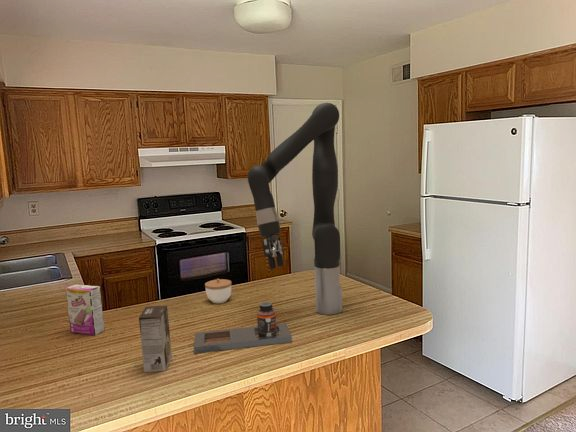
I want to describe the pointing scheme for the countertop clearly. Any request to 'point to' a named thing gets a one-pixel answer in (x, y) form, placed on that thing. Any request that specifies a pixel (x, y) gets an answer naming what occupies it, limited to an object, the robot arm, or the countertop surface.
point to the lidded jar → (218, 290)
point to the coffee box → (155, 338)
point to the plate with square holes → (238, 338)
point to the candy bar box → (85, 309)
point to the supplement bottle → (266, 320)
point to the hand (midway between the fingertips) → (277, 267)
